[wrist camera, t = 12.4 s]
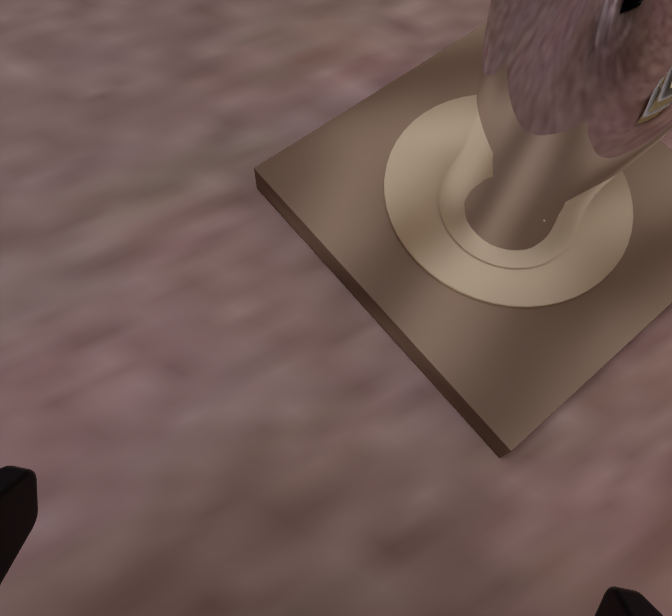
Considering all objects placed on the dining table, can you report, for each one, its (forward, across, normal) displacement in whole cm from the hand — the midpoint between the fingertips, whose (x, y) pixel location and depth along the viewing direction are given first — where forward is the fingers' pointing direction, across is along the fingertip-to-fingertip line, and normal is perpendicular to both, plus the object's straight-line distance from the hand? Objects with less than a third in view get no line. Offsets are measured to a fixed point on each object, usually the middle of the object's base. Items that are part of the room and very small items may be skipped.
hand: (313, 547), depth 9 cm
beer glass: (+19, -6, -2) cm, 20 cm away
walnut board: (+21, -6, -2) cm, 22 cm away
